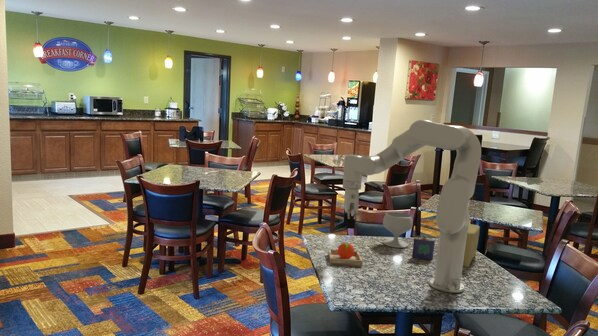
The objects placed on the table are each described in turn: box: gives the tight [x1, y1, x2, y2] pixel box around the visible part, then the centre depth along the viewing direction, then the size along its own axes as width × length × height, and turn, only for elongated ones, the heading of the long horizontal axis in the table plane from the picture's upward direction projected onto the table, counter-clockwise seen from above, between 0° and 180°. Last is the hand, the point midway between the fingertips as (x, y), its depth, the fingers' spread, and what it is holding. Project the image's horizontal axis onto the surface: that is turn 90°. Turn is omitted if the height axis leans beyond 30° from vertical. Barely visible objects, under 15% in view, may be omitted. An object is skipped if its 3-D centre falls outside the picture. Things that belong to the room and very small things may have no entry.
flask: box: [411, 234, 436, 261], centre depth 207 cm, size 9×3×11 cm, turn 88°
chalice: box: [382, 211, 413, 249], centre depth 226 cm, size 14×14×15 cm
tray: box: [327, 248, 364, 268], centre depth 196 cm, size 13×13×2 cm
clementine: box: [337, 242, 355, 259], centre depth 195 cm, size 8×7×7 cm
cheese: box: [463, 223, 481, 268], centre depth 210 cm, size 22×10×15 cm, turn 162°
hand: (349, 225), depth 194 cm, fingers open, 9 cm apart
